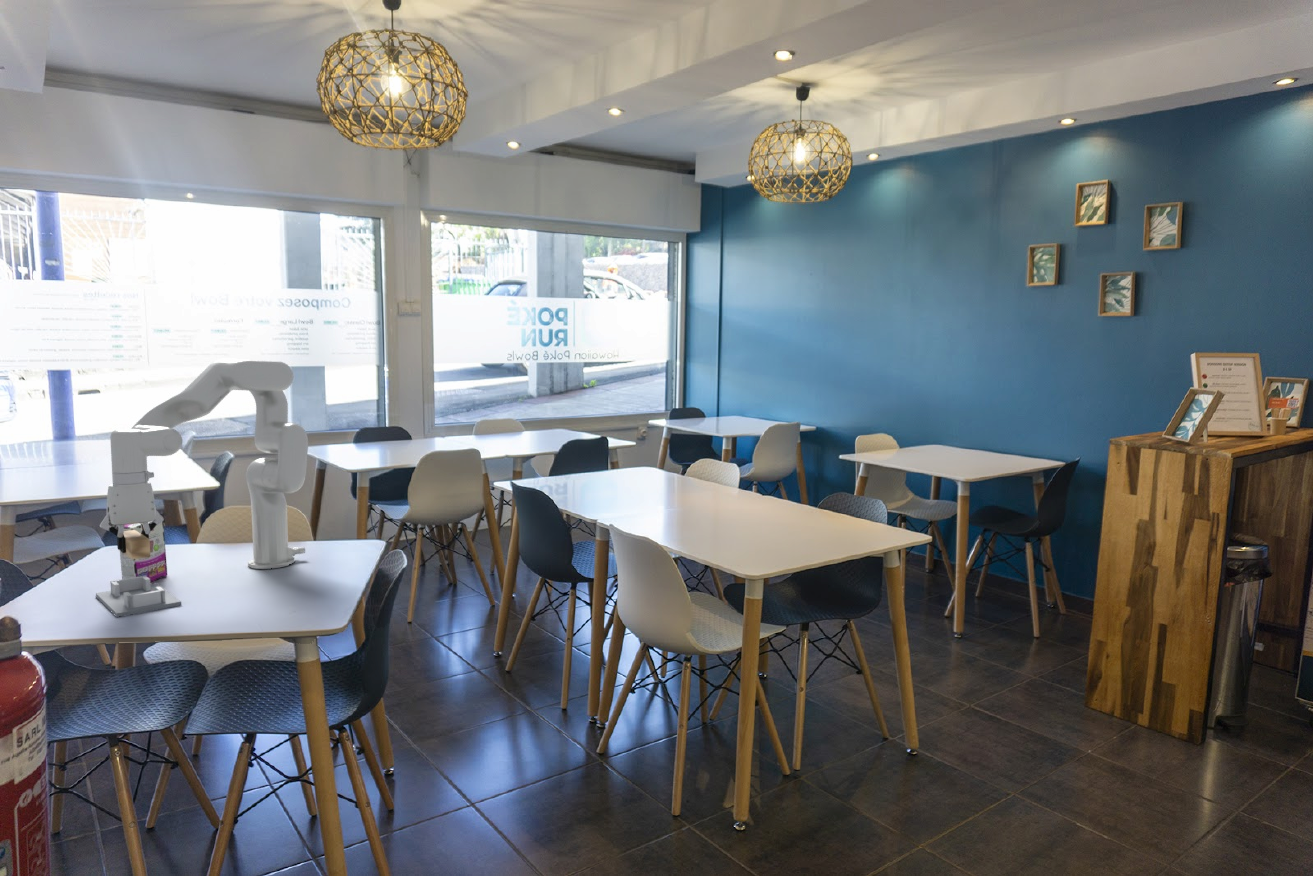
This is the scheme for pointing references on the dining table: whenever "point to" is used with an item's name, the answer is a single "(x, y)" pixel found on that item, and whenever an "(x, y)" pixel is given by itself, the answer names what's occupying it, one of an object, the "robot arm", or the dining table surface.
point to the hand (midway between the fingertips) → (133, 549)
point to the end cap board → (136, 596)
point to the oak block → (136, 545)
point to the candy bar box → (151, 565)
